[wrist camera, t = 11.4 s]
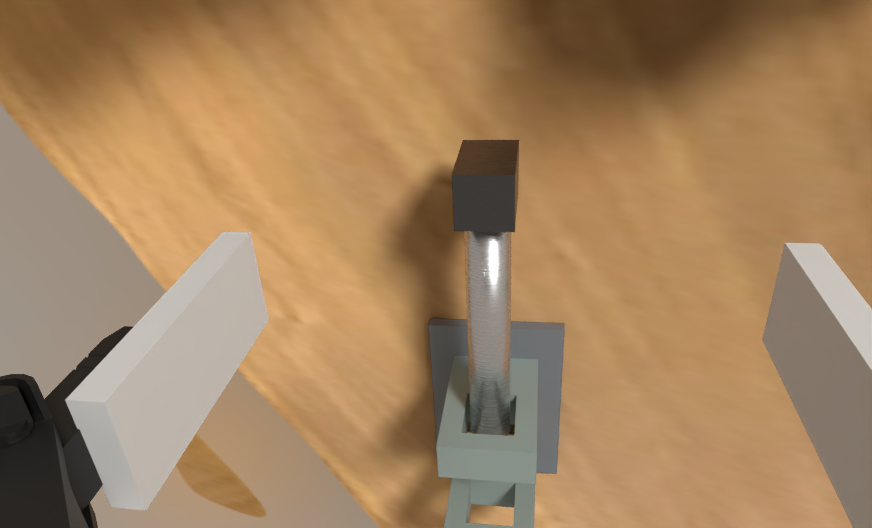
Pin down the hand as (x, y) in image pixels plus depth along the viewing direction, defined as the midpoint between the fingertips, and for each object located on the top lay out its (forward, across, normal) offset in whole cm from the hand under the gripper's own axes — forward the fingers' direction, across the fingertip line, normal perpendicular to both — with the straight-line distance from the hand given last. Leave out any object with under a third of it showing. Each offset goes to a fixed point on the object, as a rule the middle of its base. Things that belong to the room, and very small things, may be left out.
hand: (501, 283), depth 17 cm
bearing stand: (+31, -2, -30) cm, 43 cm away
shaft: (+27, -2, -16) cm, 31 cm away
